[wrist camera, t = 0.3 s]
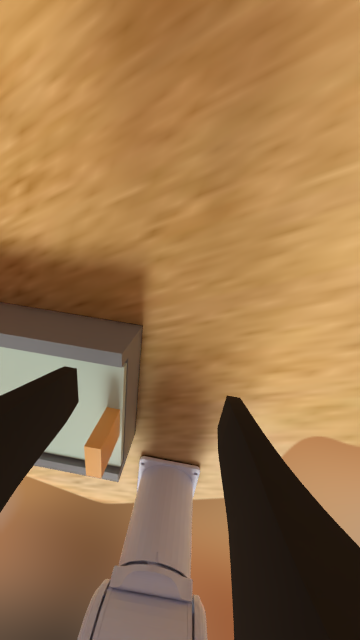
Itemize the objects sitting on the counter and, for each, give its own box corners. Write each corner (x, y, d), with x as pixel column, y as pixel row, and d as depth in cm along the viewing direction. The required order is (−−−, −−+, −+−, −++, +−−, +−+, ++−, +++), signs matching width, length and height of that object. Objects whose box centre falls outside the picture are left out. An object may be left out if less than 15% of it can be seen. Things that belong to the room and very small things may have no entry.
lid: (122, 460, 20) (104, 511, 16) (-33, 430, 20) (-87, 472, 17) (126, 362, 15) (103, 400, 12) (-71, 328, 16) (-155, 354, 12)
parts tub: (135, 433, 24) (118, 482, 19) (7, 409, 25) (-41, 450, 20) (142, 325, 19) (122, 353, 14) (-21, 298, 20) (-97, 316, 15)
